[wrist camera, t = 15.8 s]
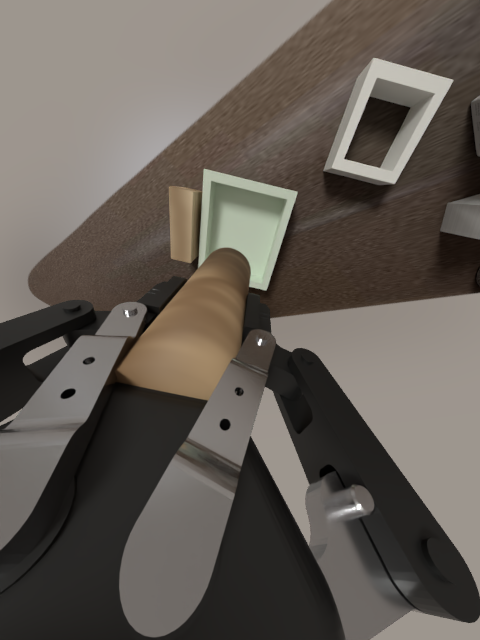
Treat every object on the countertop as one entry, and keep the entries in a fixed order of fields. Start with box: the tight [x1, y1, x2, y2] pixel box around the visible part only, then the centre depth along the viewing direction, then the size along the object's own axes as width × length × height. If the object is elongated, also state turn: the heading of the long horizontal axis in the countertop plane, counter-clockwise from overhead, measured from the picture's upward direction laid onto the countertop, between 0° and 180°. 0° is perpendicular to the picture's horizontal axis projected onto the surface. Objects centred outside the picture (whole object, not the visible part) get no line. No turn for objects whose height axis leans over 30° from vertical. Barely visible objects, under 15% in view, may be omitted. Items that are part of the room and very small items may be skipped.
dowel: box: [115, 248, 251, 400], centre depth 10 cm, size 4×4×12 cm
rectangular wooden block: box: [169, 186, 203, 263], centre depth 27 cm, size 3×9×6 cm, turn 169°
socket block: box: [323, 58, 454, 185], centre depth 20 cm, size 8×8×4 cm
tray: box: [198, 169, 298, 291], centre depth 28 cm, size 12×14×4 cm
